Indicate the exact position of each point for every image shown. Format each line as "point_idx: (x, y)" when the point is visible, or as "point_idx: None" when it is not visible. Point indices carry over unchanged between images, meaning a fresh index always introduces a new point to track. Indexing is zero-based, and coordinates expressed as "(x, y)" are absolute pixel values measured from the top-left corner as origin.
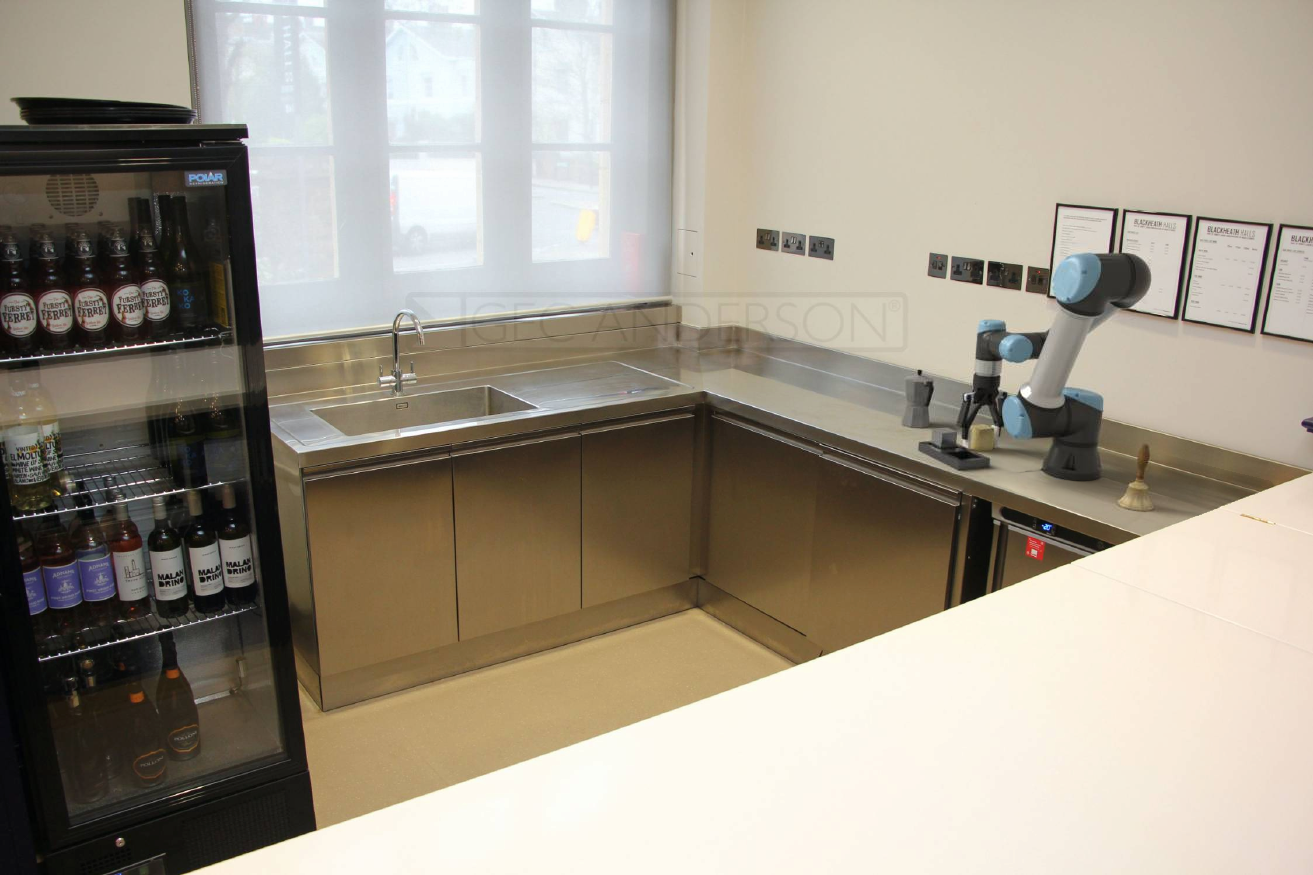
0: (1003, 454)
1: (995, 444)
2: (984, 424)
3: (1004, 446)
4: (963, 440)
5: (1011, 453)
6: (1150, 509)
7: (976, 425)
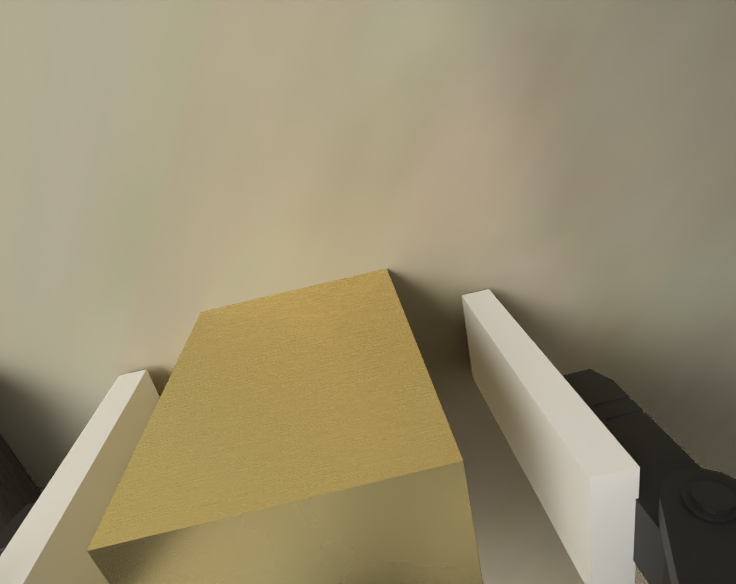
0: (470, 491)
1: (490, 403)
2: (455, 485)
3: (632, 268)
4: (77, 452)
5: None
6: None
7: (244, 554)
